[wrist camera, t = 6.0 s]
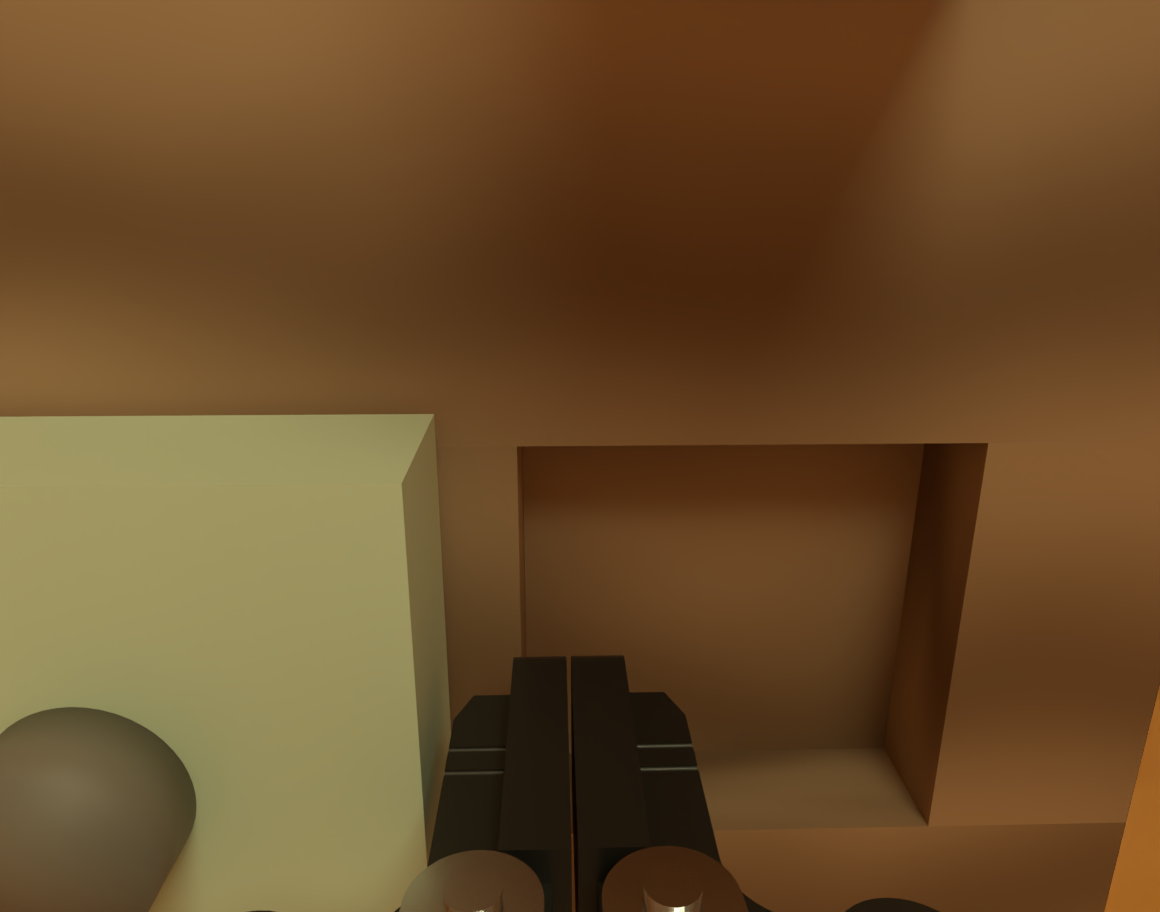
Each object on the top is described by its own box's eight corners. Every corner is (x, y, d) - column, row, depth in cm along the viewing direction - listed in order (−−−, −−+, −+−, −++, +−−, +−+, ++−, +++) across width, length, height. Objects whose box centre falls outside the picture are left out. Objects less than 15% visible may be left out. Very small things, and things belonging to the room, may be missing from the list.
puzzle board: (-287, -946, 9) (-558, -1304, 7) (1374, -886, 10) (1621, -1203, 8) (102, 868, 17) (32, 977, 15) (1023, 849, 17) (1094, 952, 15)
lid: (-163, 417, 11) (-500, 538, 8) (434, 413, 11) (379, 529, 8) (-32, 888, 14) (-243, 1148, 10) (458, 877, 14) (426, 1129, 10)
